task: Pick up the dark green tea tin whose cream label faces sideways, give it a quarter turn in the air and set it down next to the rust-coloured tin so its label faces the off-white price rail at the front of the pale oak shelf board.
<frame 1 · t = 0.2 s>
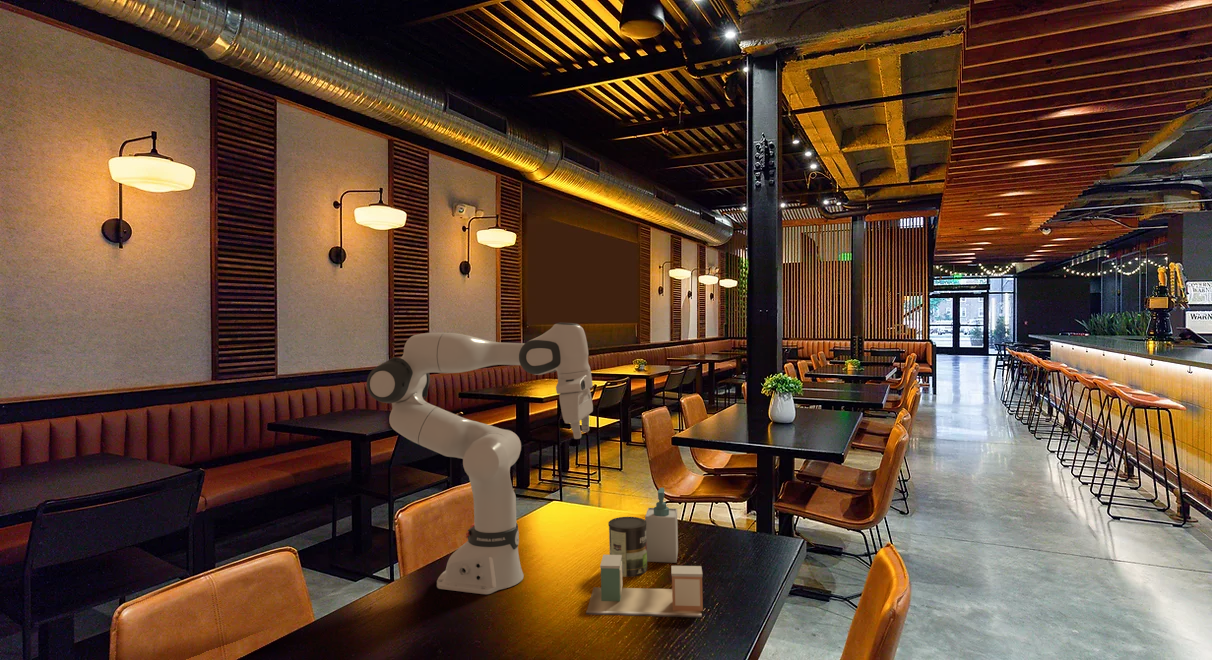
hand: (582, 435, 154), 38 cm above the table, tool pointing down, fingers open, 8 cm apart
coffee can: (628, 575, 158), on the table
green tin: (612, 594, 143), point 1 cm above the table, touching shelf board
rust tin: (687, 606, 136), point 1 cm above the table, touching shelf board
shelf board: (644, 606, 139), on the table
soap bottle: (662, 557, 170), on the table
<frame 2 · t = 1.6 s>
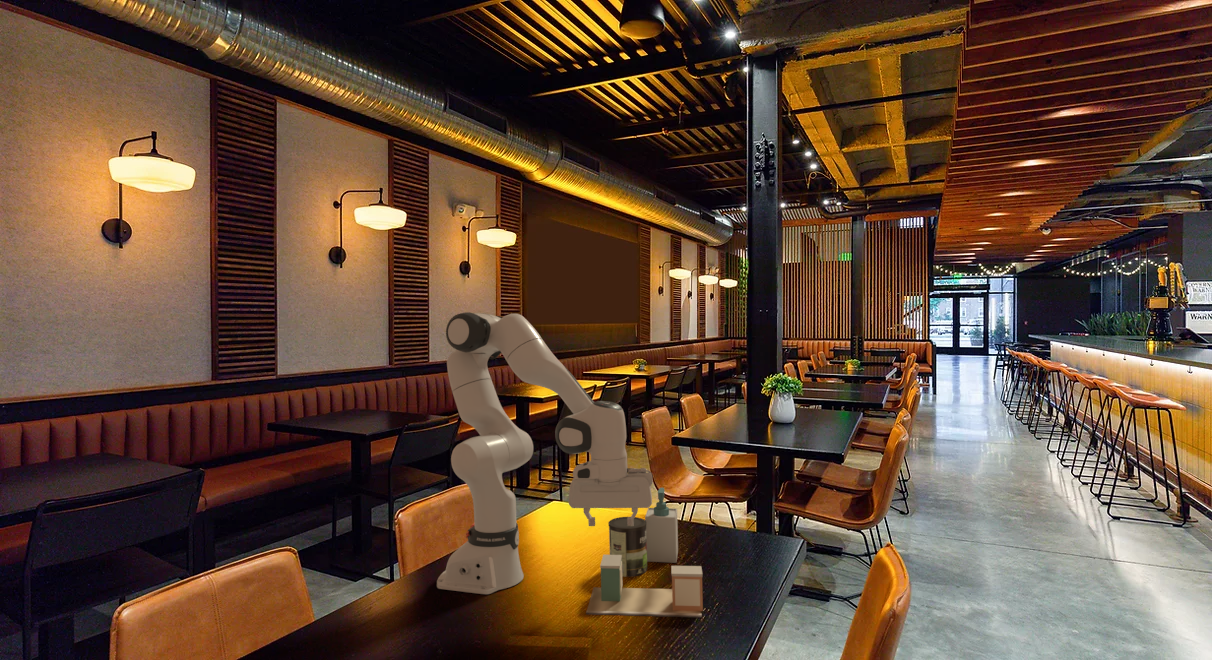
hand: (611, 525, 143), 18 cm above the table, tool pointing down, fingers open, 8 cm apart
nothing on the table moved.
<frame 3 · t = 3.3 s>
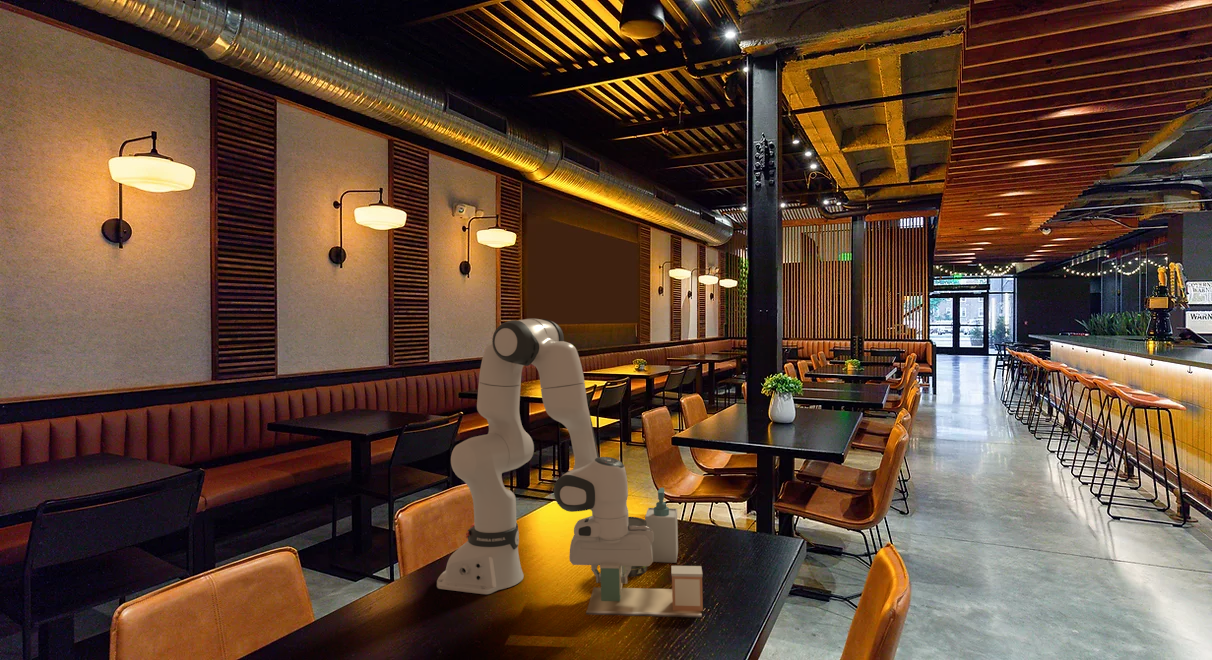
hand: (611, 582, 143), 5 cm above the table, tool pointing down, fingers closed on green tin, 5 cm apart
green tin: (611, 594, 143), point 2 cm above the table, touching gripper, shelf board
everything else where it was.
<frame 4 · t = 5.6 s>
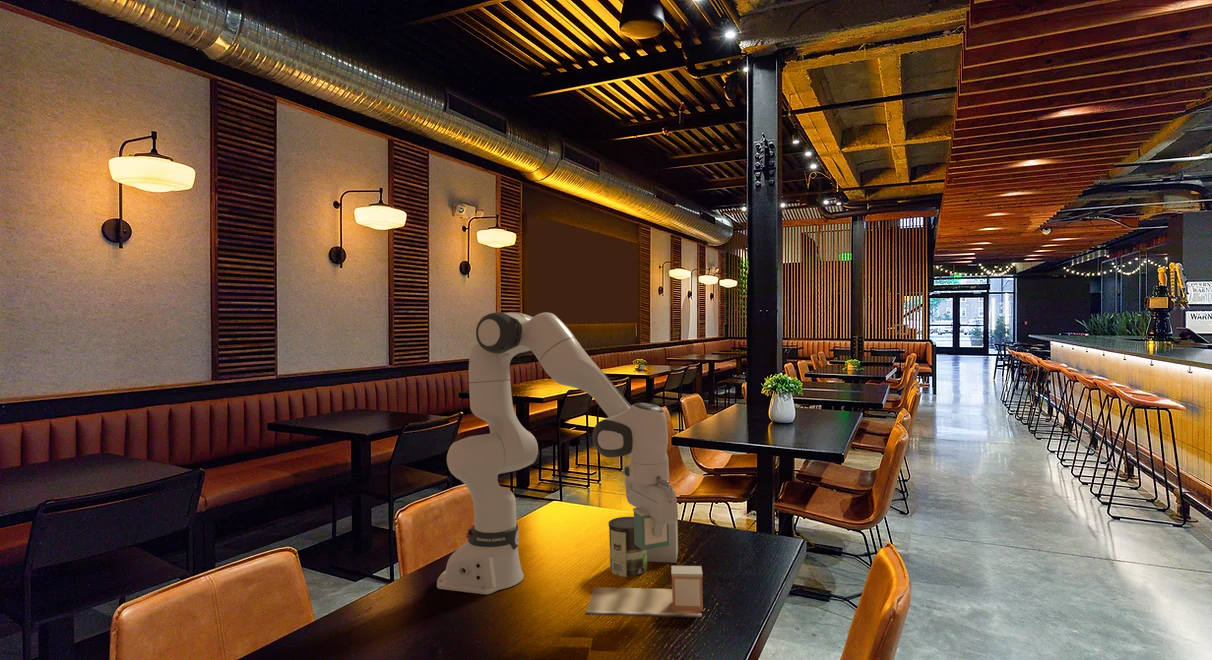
hand: (651, 532, 137), 18 cm above the table, tool pointing down, fingers closed on green tin, 5 cm apart
green tin: (651, 545, 137), point 15 cm above the table, touching gripper
everything else where it was.
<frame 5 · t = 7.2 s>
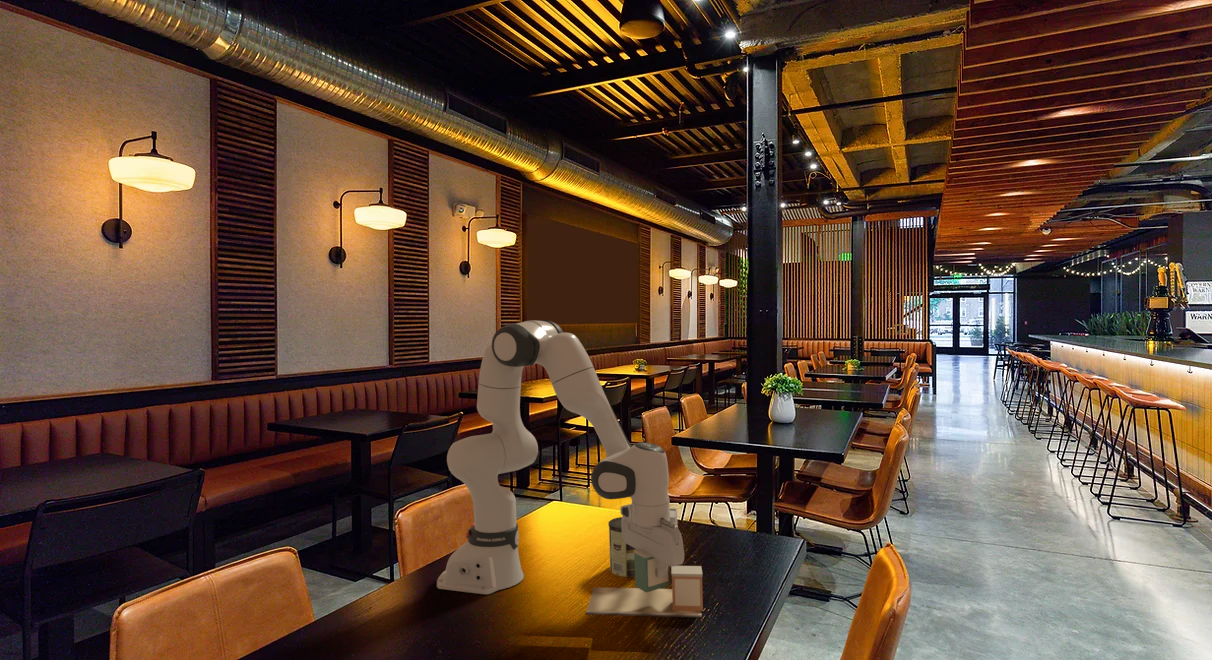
hand: (652, 572, 137), 9 cm above the table, tool pointing down, fingers closed on green tin, 5 cm apart
green tin: (652, 585, 137), point 6 cm above the table, touching gripper
everything else where it was.
when the fingers open (6 cm above the table, at t = 8.2 s): green tin drops 1 cm, resting on shelf board.
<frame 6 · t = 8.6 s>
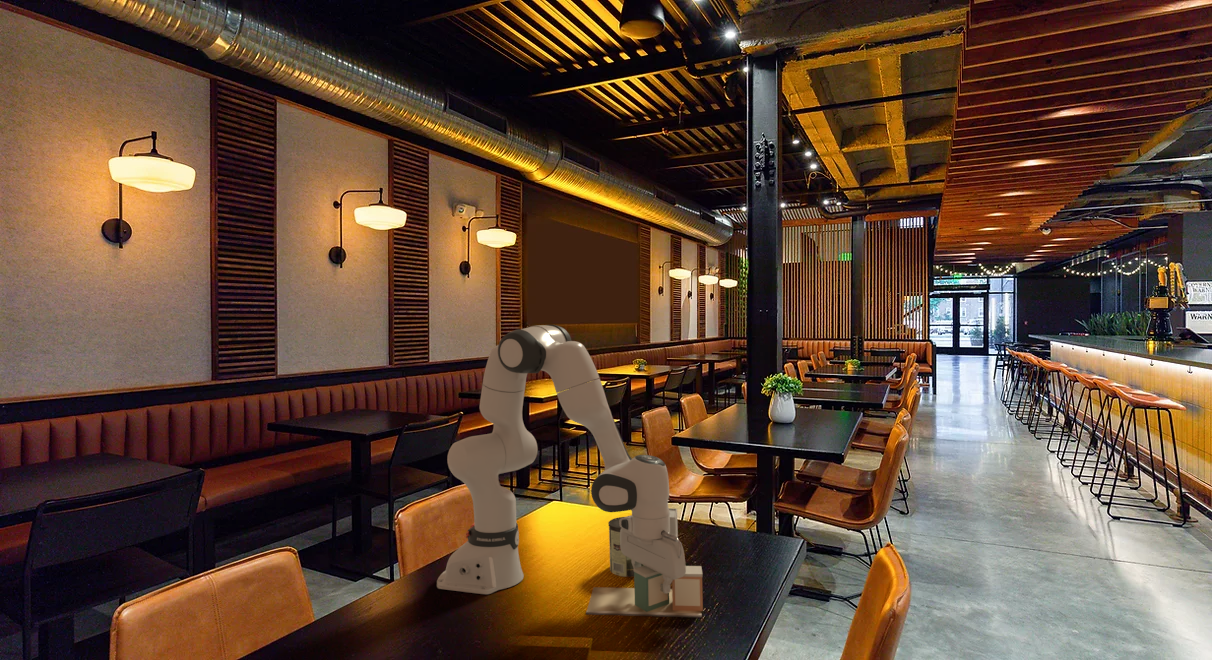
hand: (652, 585, 137), 6 cm above the table, tool pointing down, fingers open, 8 cm apart
green tin: (652, 604, 137), point 1 cm above the table, touching shelf board
everything else where it was.
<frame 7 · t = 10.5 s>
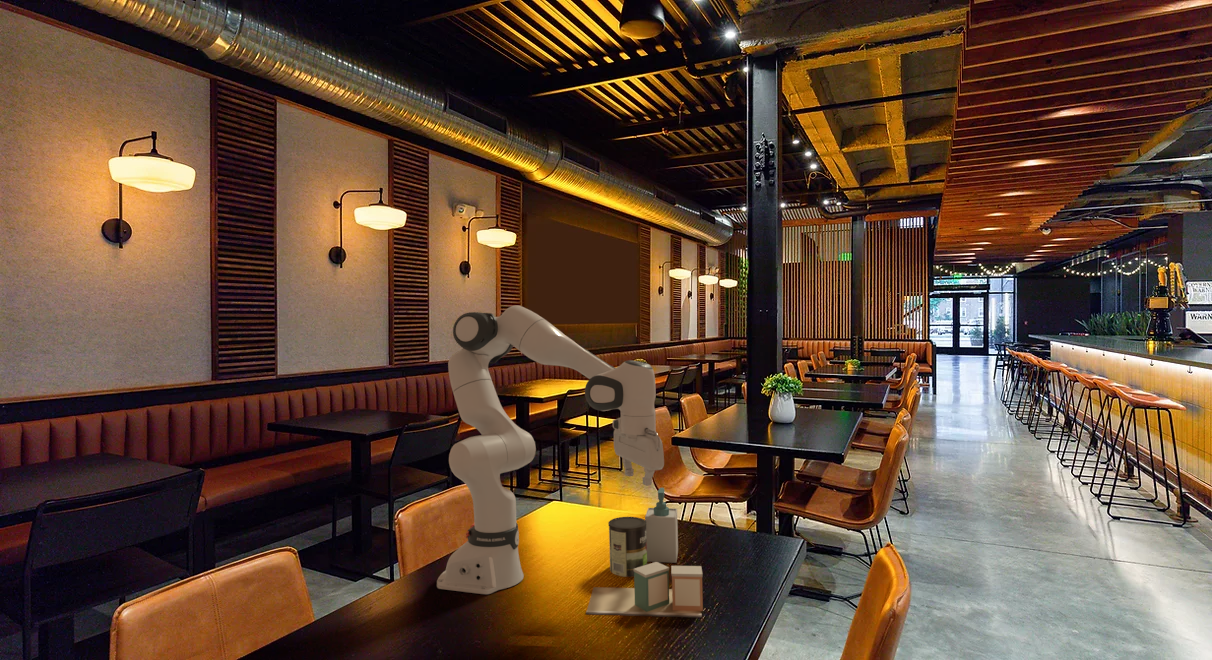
hand: (637, 480, 148), 28 cm above the table, tool pointing down, fingers open, 8 cm apart
nothing on the table moved.
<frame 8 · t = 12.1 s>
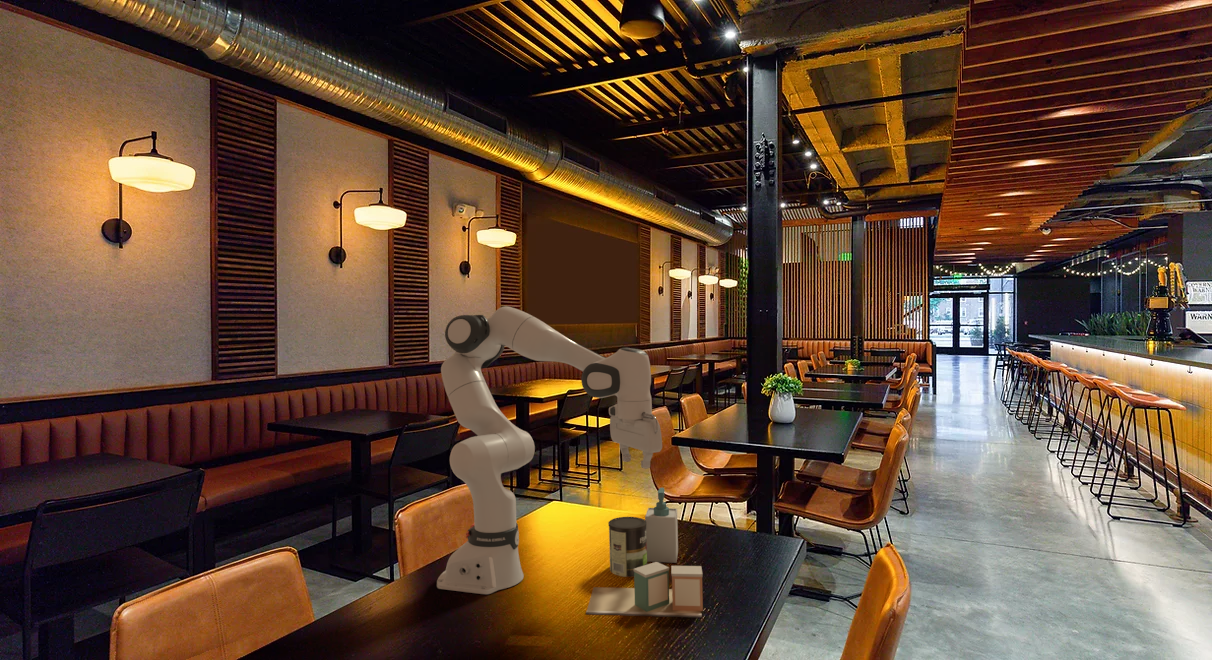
hand: (635, 464, 151), 31 cm above the table, tool pointing down, fingers open, 8 cm apart
nothing on the table moved.
at the end: green tin 0.2 cm from the target spot, point 1.5 cm above the table; green tin tilted 0°; the gripper is holding nothing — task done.
